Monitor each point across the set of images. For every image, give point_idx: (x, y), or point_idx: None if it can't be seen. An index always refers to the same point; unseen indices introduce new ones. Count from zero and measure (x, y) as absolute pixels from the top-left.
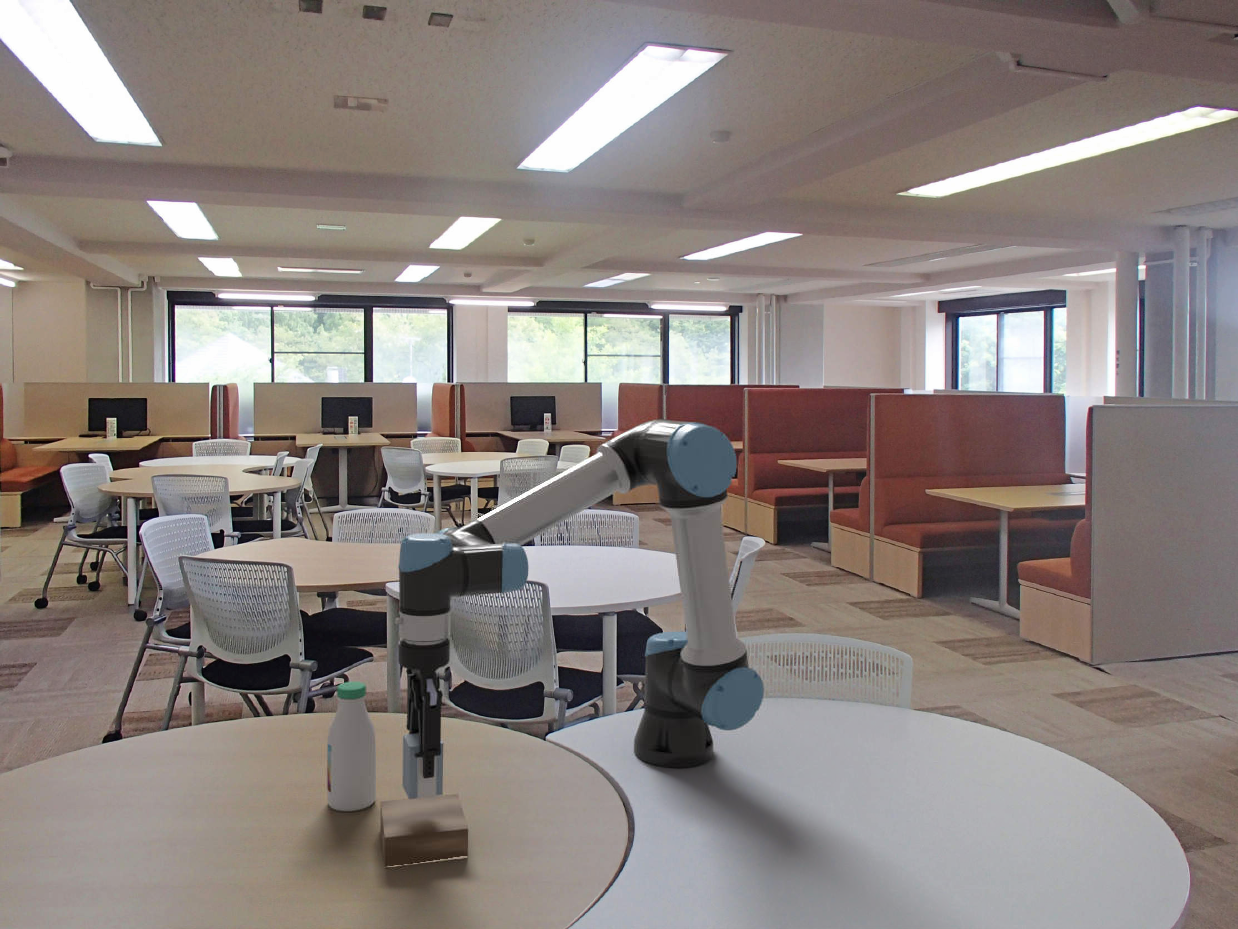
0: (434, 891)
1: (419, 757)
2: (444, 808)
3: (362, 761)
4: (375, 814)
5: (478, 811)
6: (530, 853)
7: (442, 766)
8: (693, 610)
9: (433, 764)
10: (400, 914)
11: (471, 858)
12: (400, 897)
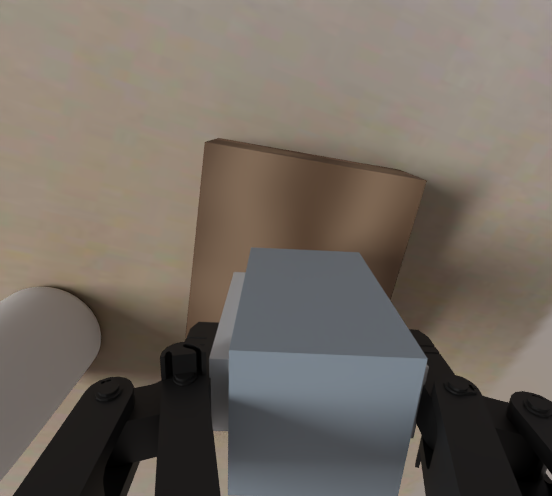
0: (483, 266)
1: (413, 430)
2: (282, 205)
3: (29, 395)
4: (124, 297)
5: (176, 65)
6: (453, 9)
7: (385, 296)
8: None
9: (446, 366)
10: (518, 334)
11: (401, 161)
12: (467, 323)
